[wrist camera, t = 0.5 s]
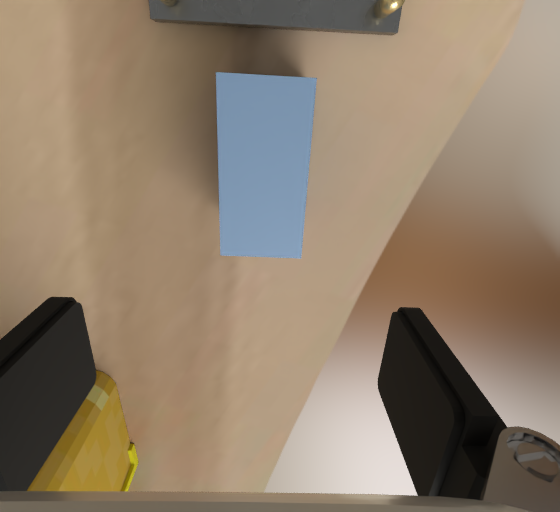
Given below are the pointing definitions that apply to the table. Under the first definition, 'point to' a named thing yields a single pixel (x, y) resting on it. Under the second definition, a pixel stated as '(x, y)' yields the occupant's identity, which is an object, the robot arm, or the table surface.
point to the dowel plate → (285, 14)
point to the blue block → (263, 162)
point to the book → (92, 447)
